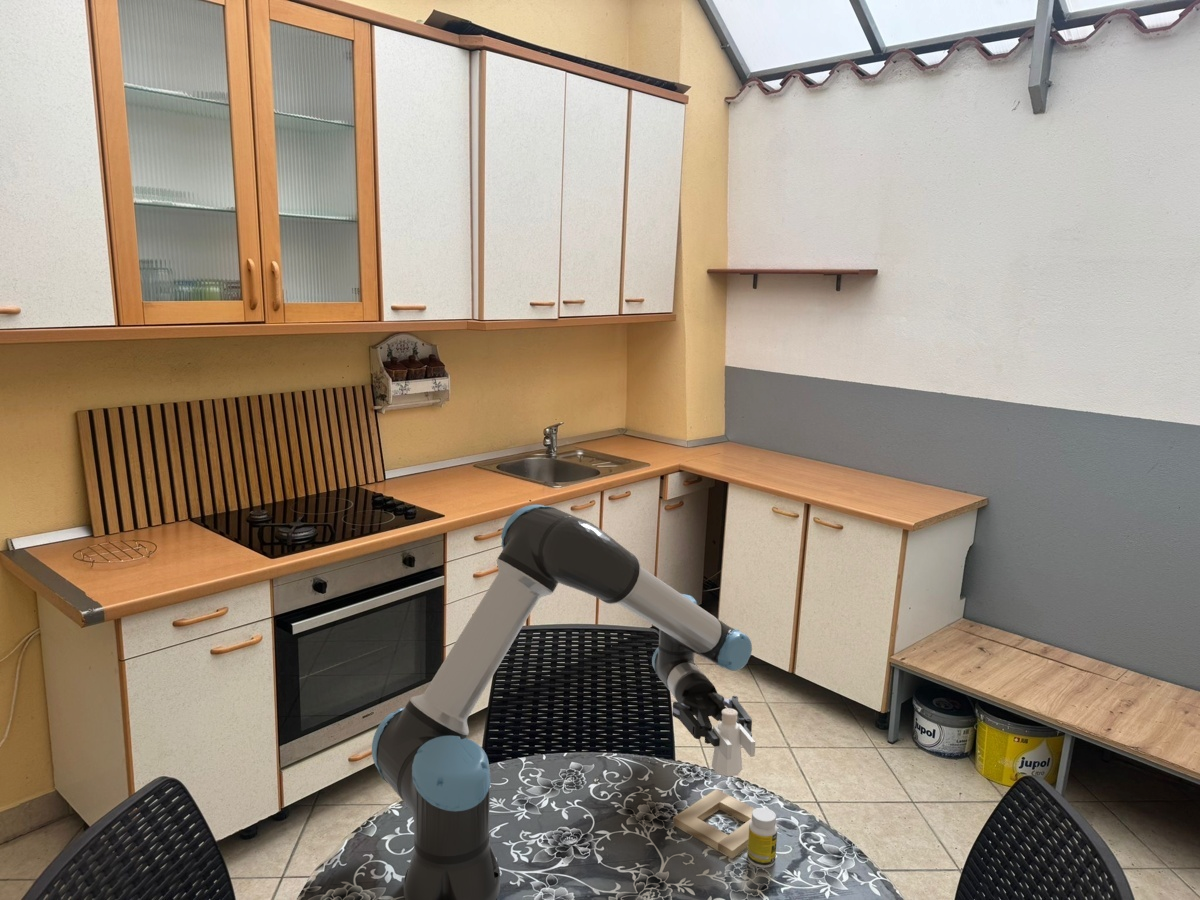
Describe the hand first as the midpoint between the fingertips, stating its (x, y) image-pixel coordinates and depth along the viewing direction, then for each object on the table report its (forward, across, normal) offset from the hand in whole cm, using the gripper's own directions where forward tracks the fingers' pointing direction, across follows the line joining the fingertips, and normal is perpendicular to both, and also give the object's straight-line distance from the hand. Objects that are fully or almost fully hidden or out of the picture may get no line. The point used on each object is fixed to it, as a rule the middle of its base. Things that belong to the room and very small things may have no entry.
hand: (741, 750), depth 141 cm
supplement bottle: (+5, -2, -18) cm, 19 cm away
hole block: (-5, 0, -18) cm, 19 cm away
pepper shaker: (-5, 0, -7) cm, 9 cm away
